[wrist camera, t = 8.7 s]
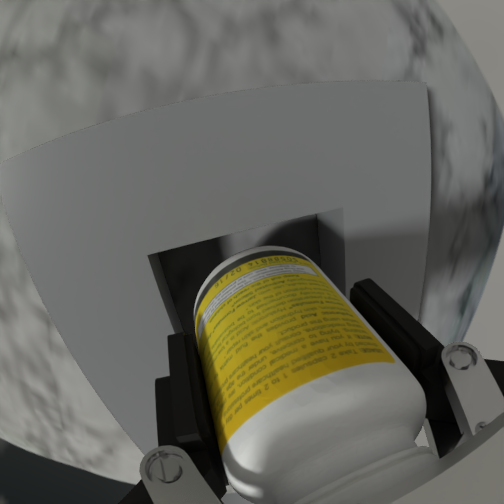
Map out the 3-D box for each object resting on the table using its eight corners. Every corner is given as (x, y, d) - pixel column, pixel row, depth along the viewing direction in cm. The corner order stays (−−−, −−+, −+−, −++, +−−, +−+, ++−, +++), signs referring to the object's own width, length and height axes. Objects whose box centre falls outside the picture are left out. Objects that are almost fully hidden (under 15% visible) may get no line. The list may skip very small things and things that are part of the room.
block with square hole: (21, 156, 10) (-16, 169, 7) (389, 83, 12) (436, 82, 10) (144, 423, 17) (146, 464, 14) (385, 350, 19) (411, 380, 17)
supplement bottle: (163, 317, 12) (198, 589, 3) (261, 212, 11) (474, 457, 3) (258, 373, 14) (341, 566, 6) (345, 292, 14) (497, 466, 5)
